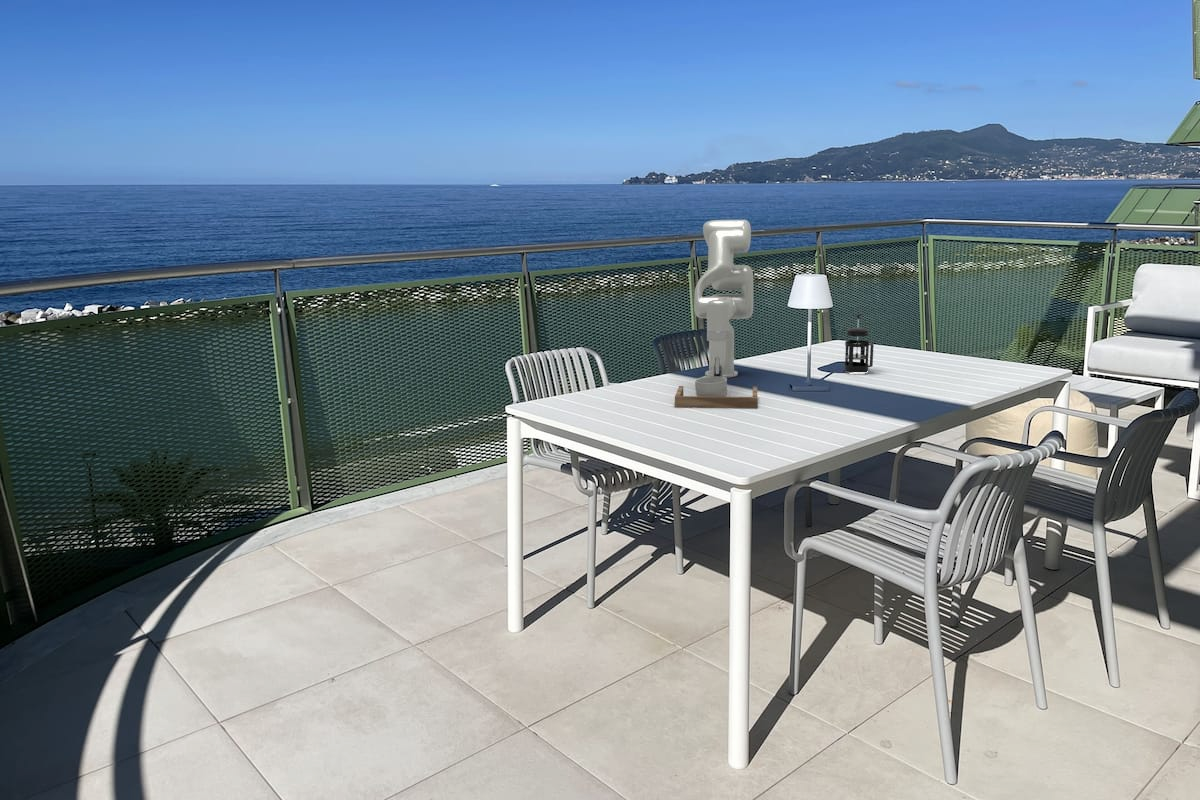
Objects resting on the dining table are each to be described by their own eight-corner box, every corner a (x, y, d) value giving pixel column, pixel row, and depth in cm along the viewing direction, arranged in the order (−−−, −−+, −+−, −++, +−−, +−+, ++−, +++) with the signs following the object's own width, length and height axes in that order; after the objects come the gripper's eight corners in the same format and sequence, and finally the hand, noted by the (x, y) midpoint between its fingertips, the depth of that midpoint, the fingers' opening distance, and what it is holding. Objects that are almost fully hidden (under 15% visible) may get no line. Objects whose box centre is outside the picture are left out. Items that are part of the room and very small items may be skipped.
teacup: (728, 405, 287) (728, 381, 285) (696, 405, 287) (696, 382, 285) (723, 396, 300) (723, 373, 298) (692, 396, 301) (692, 374, 299)
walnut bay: (679, 395, 303) (679, 385, 302) (757, 396, 298) (757, 386, 297) (674, 407, 286) (674, 397, 285) (757, 408, 281) (757, 397, 281)
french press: (837, 372, 335) (839, 313, 330) (850, 369, 341) (852, 311, 336) (864, 376, 326) (867, 316, 321) (877, 372, 333) (880, 313, 328)
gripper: (708, 332, 303) (708, 383, 307) (705, 339, 288) (705, 392, 293) (729, 332, 301) (729, 383, 306) (728, 339, 287) (728, 393, 291)
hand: (717, 388), depth 299 cm, fingers closed
